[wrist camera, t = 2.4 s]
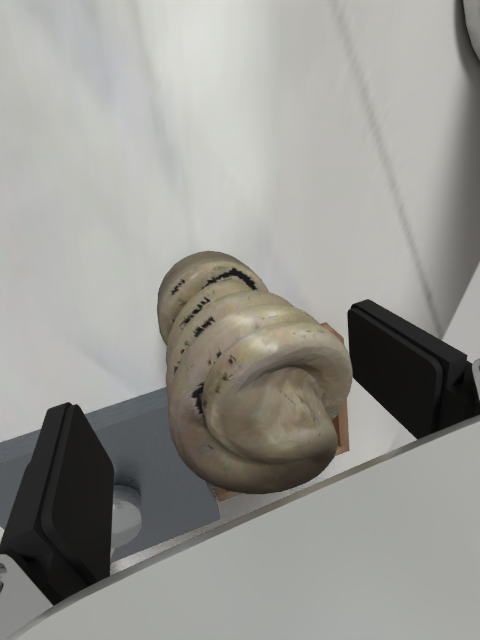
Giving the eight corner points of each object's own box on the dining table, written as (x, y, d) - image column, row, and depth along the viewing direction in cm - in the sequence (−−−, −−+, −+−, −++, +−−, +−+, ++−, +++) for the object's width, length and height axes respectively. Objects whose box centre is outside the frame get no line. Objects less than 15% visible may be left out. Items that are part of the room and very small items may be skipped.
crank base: (171, 385, 24) (174, 405, 22) (215, 498, 31) (220, 520, 29) (-49, 459, 22) (-66, 488, 20) (51, 563, 29) (45, 591, 27)
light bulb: (154, 216, 19) (192, 353, 6) (245, 229, 21) (427, 357, 8) (147, 306, 21) (164, 551, 8) (229, 311, 23) (351, 519, 10)
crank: (85, 483, 23) (63, 627, 16) (148, 486, 25) (153, 617, 18) (53, 582, 27) (22, 736, 20) (110, 579, 28) (101, 718, 21)
